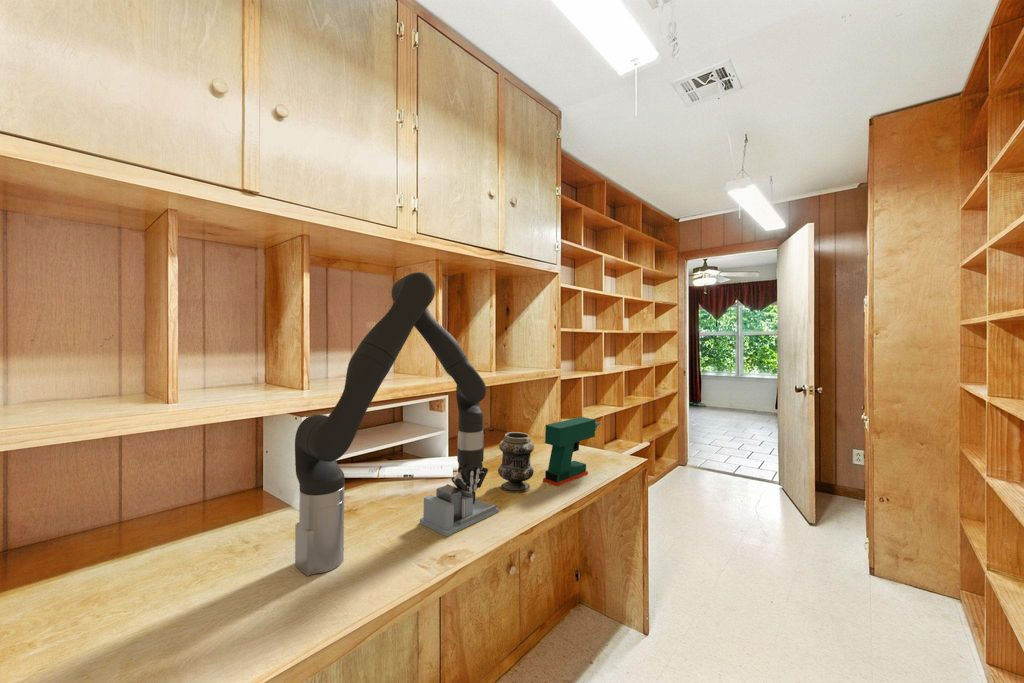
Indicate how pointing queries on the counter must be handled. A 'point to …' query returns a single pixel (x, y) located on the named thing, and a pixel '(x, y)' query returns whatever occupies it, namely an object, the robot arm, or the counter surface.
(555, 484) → the power tool
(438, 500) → the vise base
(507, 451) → the apothecary jar
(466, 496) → the free jaw
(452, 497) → the block
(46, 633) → the counter surface
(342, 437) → the robot arm
